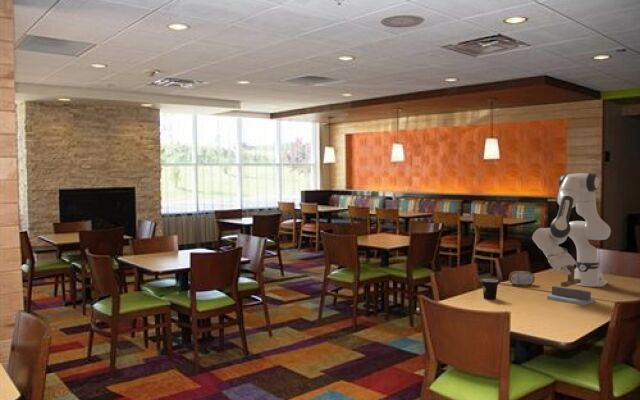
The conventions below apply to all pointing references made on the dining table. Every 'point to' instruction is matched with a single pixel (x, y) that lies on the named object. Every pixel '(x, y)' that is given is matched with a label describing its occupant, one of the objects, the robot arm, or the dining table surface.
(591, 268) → the robot arm
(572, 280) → the brown t-shaped block
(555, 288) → the ridge stand
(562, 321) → the dining table surface
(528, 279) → the tin
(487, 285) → the coffee mug
